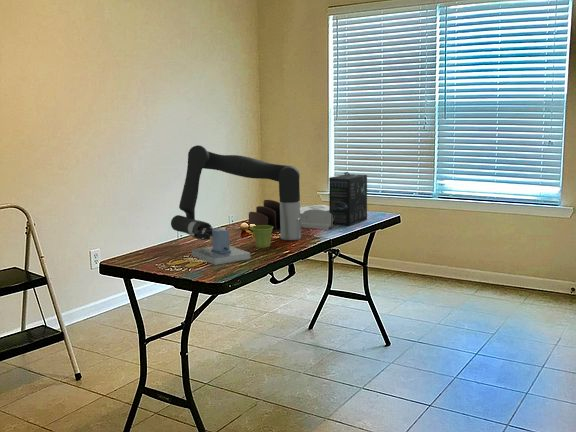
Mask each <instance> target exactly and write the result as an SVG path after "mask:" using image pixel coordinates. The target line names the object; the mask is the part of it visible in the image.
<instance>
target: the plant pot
mask: <svg viewBox="0 0 576 432" xmlns="http://www.w3.org/2000/svg"><path fill="white" fill-rule="evenodd" d="M272 229H273V226H269V225H258V226H253V227H252V228H251V230H252V232H253V237H254V241H255V247H256V248H258V249H265V248H270V247H271V240H272V233H273V232H272Z"/></svg>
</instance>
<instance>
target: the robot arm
mask: <svg viewBox="0 0 576 432" xmlns="http://www.w3.org/2000/svg"><path fill="white" fill-rule="evenodd" d="M203 169H205V170H214V171H220V172H223V173H226V174H230V175H234V176H238V177H243V178H246V179H247V178H248V179H256V180H257V179H264V180H271V181H275V182H278V192H279V193H278V197H279V203H280V240H284V241H296V240H297V241H298V240H300V239H301V238H302V227H301V217H300V207H301V194H300V191H301V190H300V188H301V187H300V178H301V177H300V175H301V174H300V171H299V169H298V168H296V166H293V165H286V164H285V165H284V164H276V163H270V162H267V161H264V160H261V159H258V158H253V157H249V156H245V155H235V154H226V155H224V154H218V153H215V152H212V151H208V150H207V149H206V148H205V146H202V145H197V144H196V145H194V146H191V148H190V149H189V150H188V153H187V168H186V175H185V179H184V184H183V189H182V193H181V197H180V201H179V206H178V207H179V208H178V209H179V210H180V211H182V212H183V213H185V215H180V214H179V215H178V214H177V215H174V216H173V217H172V219H171V220H170V227H171V228H172V230H174V231H176V232H181V233H185V234H187V235H189V236H192V238H194V239H197V240H202V241H206V240H211V238H212V230H213V229H219V228H225V229H226V230H228V228H226V227H223V226H218V227H213V226H212V225H211V224H210V223H208V222H206V221H202V220H199V219H196V216H195V215H196V213H195V212H196V211H195V208H196V205H197V200H198V195H199V187H200V180H201V174H202V171H203Z"/></svg>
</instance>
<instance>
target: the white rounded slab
mask: <svg viewBox="0 0 576 432" xmlns="http://www.w3.org/2000/svg"><path fill="white" fill-rule="evenodd" d="M312 209H319V210H324V211H327V212H329V205H327V204H317V205H308V206H300V217H301V220H302V216H303V212H304V211H307V210H312Z"/></svg>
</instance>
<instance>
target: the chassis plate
mask: <svg viewBox="0 0 576 432" xmlns="http://www.w3.org/2000/svg"><path fill="white" fill-rule="evenodd" d="M229 247H230V250H231V252H229V253H223V254H218V253H215V252H213V250H211V249H212V248H213V246H207V247H201V248H195V249H191V256H192V257H194V258H197V259H200V260H201V261H204V262H207V263H209V264H211V265H214V266H218V265H222V264H223V265H224V264H229V263H234V262H235V263H236V262H239V261H240V262H242V261H245V260H246V261H247V260H251V252H249V251H246V250H242V249H241V248H238V247H234V246H231V245H229Z"/></svg>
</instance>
